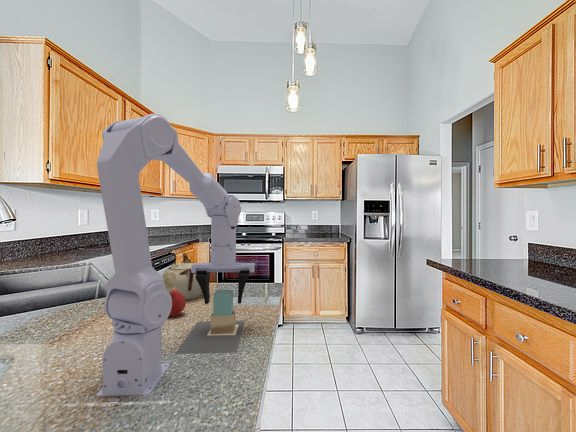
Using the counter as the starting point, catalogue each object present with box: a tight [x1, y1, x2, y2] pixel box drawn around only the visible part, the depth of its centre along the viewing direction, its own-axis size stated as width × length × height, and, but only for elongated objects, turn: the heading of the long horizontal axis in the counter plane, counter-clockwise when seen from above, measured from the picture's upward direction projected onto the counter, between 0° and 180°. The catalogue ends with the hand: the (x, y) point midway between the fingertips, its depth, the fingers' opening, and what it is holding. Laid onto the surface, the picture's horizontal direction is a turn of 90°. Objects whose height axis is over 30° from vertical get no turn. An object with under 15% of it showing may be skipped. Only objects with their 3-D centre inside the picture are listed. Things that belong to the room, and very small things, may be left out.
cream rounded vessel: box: [161, 252, 202, 300], centre depth 102 cm, size 20×15×15 cm
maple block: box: [210, 309, 236, 334], centre depth 71 cm, size 5×5×4 cm
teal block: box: [212, 289, 234, 316], centre depth 71 cm, size 4×4×5 cm
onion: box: [168, 288, 187, 318], centre depth 81 cm, size 6×6×8 cm
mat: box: [174, 320, 246, 355], centre depth 68 cm, size 18×12×1 cm, turn 3°
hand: (223, 302), depth 71 cm, fingers open, 7 cm apart
